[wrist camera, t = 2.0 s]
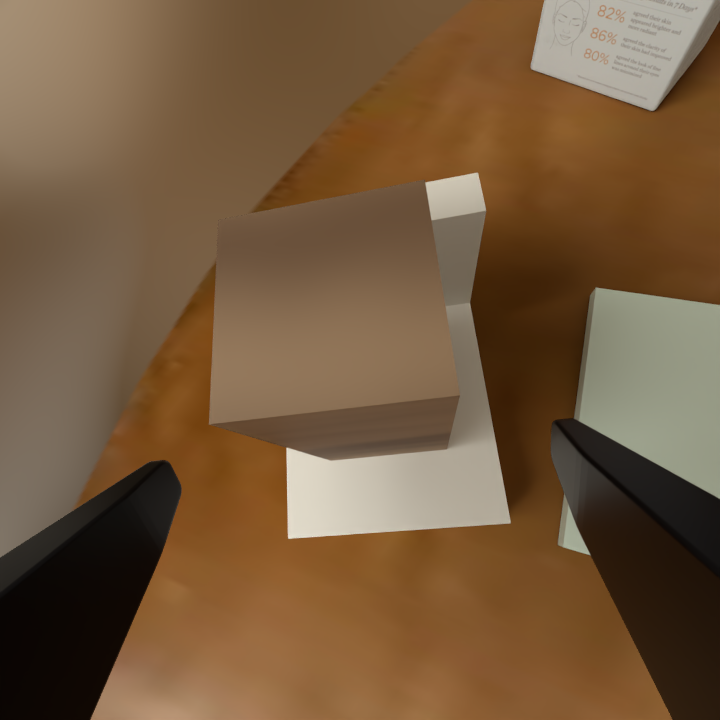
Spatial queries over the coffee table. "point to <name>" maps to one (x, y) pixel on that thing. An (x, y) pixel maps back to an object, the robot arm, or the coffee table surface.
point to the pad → (652, 386)
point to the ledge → (431, 468)
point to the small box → (623, 44)
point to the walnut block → (334, 327)
